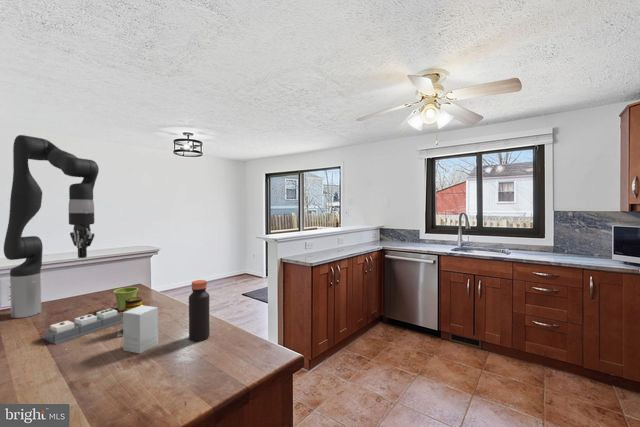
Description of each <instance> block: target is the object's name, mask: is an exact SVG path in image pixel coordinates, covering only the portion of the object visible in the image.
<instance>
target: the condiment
mask: <svg viewBox="0 0 640 427" xmlns="http://www.w3.org/2000/svg"><path fill="white" fill-rule="evenodd" d="M125 303H126V304H125V308H124V310H123V312H125V311H128V310H131V309H133V308H136V307H139V306H142V305H143V298H142V297H140V296H136V297H133V298H129V299H127V300H126V301H125ZM116 332H117V336H116V337H117V338H118V337H123V328H117V331H116Z"/></svg>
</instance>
